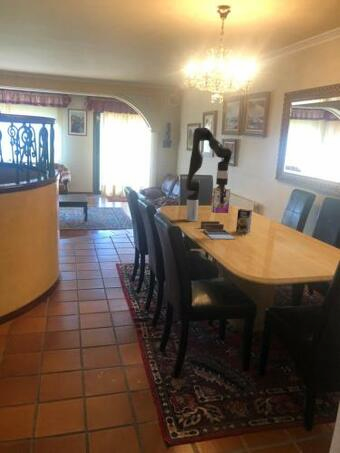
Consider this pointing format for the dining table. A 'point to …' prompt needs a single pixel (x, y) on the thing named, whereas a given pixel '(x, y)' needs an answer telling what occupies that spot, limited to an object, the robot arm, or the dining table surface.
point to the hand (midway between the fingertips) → (220, 202)
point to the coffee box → (244, 220)
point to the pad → (221, 237)
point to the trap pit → (216, 232)
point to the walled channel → (212, 225)
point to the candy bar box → (216, 204)
